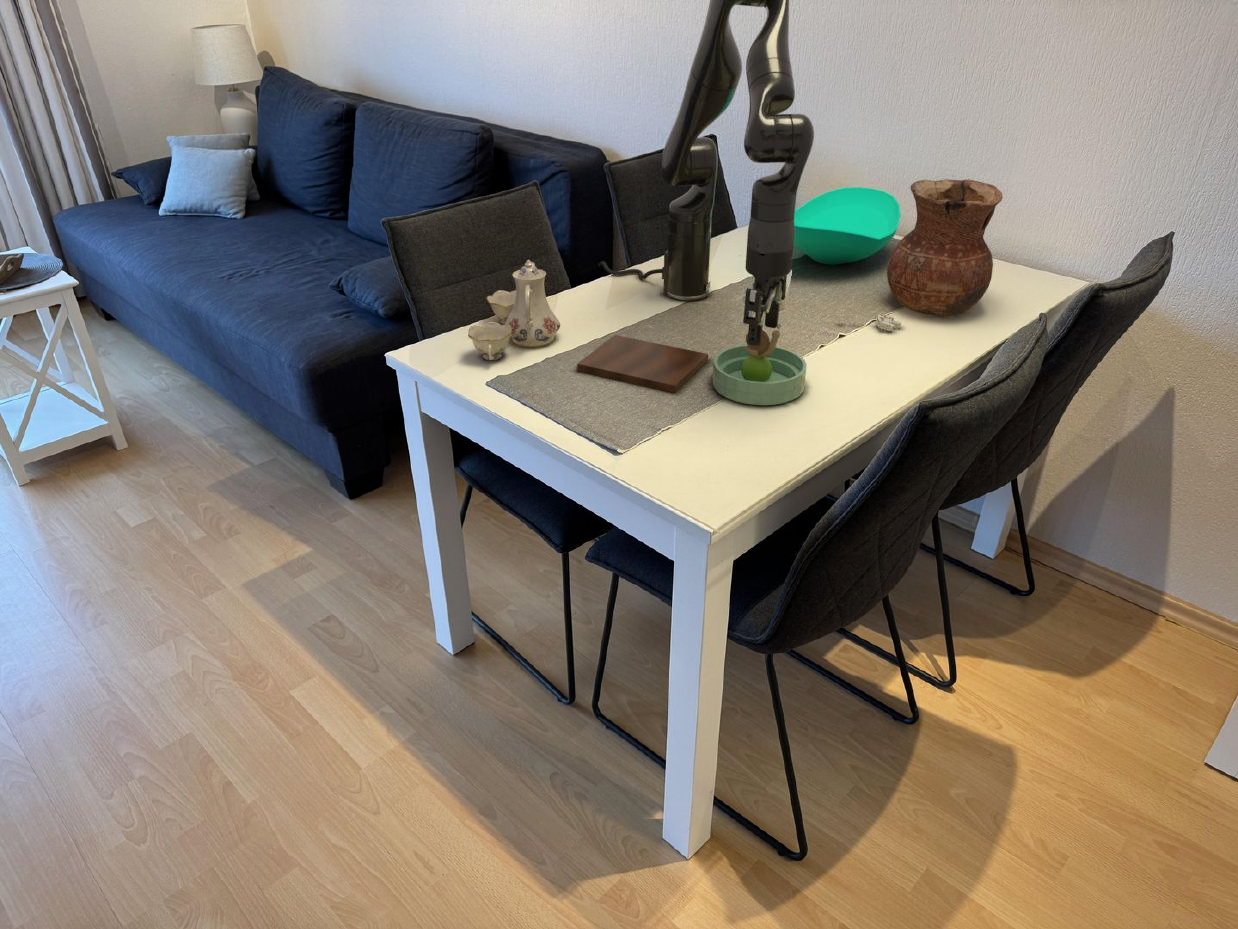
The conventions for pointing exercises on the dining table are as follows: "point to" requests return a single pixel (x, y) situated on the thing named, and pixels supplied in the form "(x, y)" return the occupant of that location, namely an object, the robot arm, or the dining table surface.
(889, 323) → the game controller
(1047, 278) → the dining table surface
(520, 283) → the chinaware
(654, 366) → the walnut board
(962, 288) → the jug
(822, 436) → the dining table surface
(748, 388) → the bowl
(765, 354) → the snail figurine
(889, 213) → the table top decor
